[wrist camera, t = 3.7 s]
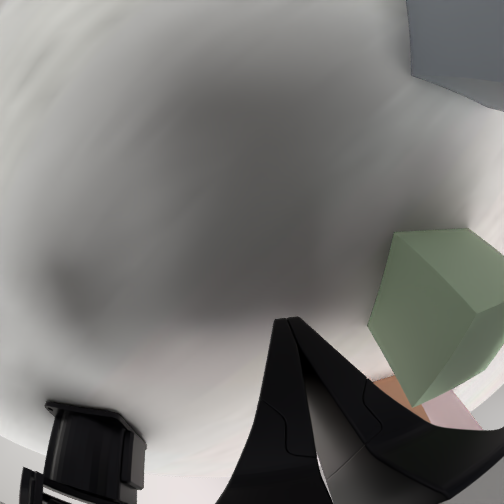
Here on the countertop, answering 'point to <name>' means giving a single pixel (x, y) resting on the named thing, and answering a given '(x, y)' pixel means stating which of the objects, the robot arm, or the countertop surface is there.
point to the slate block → (460, 47)
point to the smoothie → (450, 412)
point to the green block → (439, 310)
